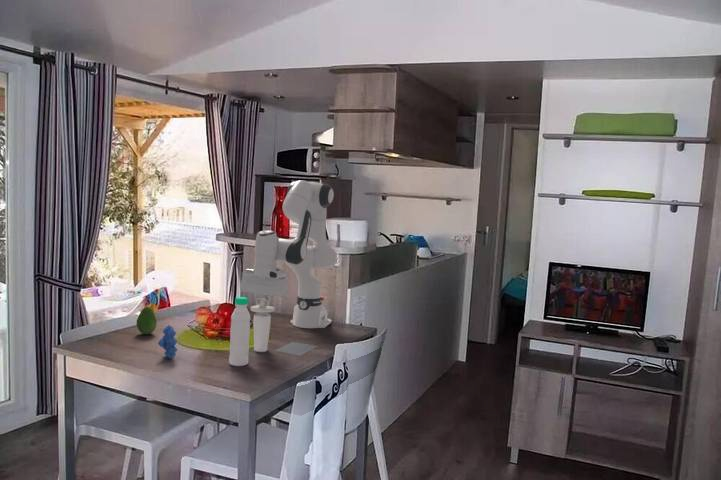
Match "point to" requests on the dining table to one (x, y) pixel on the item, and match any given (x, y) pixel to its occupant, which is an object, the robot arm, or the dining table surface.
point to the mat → (296, 348)
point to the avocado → (146, 321)
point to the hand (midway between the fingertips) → (263, 305)
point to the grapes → (169, 342)
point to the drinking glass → (261, 331)
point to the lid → (262, 307)
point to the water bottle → (240, 333)
